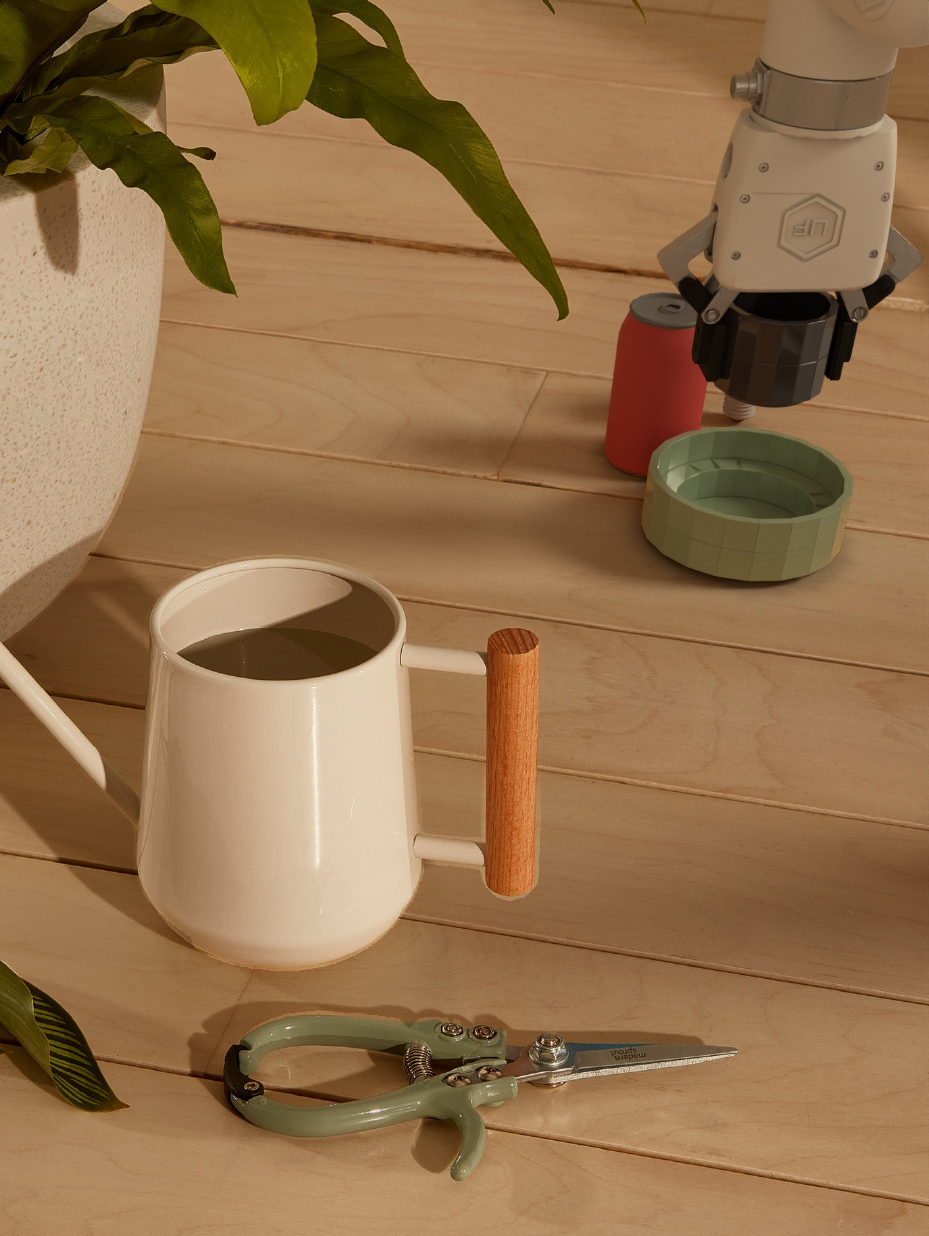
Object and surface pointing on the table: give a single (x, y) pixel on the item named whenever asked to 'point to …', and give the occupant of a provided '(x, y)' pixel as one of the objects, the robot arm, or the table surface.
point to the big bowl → (746, 503)
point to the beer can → (653, 381)
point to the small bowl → (777, 347)
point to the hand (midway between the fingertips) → (767, 370)
